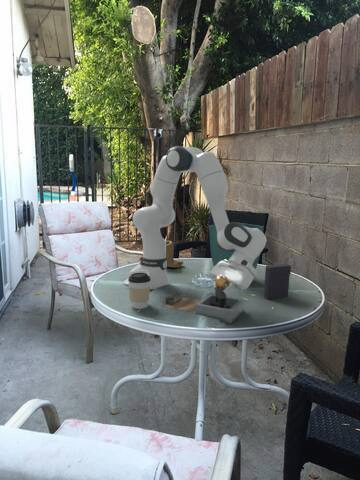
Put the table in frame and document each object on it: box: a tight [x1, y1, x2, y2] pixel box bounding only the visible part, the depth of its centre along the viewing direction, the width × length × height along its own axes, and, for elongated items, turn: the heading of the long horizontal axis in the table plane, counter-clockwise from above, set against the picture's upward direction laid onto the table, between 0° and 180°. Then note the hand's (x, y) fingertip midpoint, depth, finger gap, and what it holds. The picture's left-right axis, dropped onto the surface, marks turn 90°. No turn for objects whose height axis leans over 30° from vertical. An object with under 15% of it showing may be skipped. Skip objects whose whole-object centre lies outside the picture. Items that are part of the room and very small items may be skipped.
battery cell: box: [214, 275, 228, 309], centre depth 163 cm, size 4×4×13 cm
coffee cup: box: [127, 273, 151, 310], centre depth 167 cm, size 9×9×15 cm
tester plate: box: [161, 291, 202, 313], centre depth 171 cm, size 14×14×4 cm
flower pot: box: [208, 222, 264, 271], centre depth 209 cm, size 20×20×28 cm
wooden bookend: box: [165, 240, 184, 268], centre depth 234 cm, size 15×12×15 cm
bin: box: [194, 293, 245, 324], centre depth 164 cm, size 15×15×5 cm
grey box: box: [263, 263, 292, 301], centre depth 184 cm, size 11×4×15 cm, turn 111°
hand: (219, 290), depth 162 cm, fingers closed on battery cell, 4 cm apart
